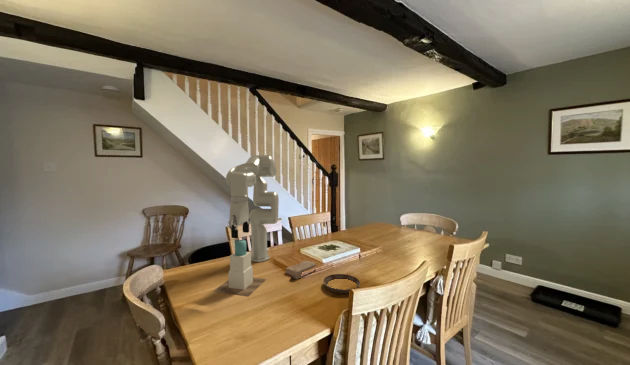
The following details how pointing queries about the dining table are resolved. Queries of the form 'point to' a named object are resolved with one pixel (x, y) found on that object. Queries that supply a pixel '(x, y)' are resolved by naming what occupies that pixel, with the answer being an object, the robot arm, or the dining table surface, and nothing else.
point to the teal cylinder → (240, 247)
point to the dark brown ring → (340, 276)
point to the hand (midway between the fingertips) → (240, 235)
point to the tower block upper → (240, 262)
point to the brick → (299, 269)
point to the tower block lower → (241, 279)
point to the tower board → (247, 292)
